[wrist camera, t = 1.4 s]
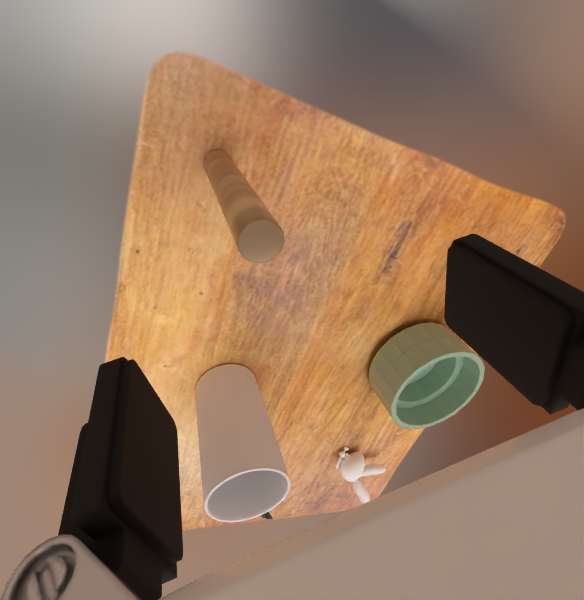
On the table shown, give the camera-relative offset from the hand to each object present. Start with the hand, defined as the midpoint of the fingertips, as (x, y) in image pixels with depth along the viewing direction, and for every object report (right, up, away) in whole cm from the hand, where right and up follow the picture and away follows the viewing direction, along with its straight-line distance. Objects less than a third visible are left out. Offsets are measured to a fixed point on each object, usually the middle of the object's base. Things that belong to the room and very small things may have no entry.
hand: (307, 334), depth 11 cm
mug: (-7, -9, +29) cm, 31 cm away
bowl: (+13, -6, +34) cm, 37 cm away
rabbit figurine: (+8, -22, +42) cm, 48 cm away
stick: (-6, +11, +16) cm, 20 cm away
